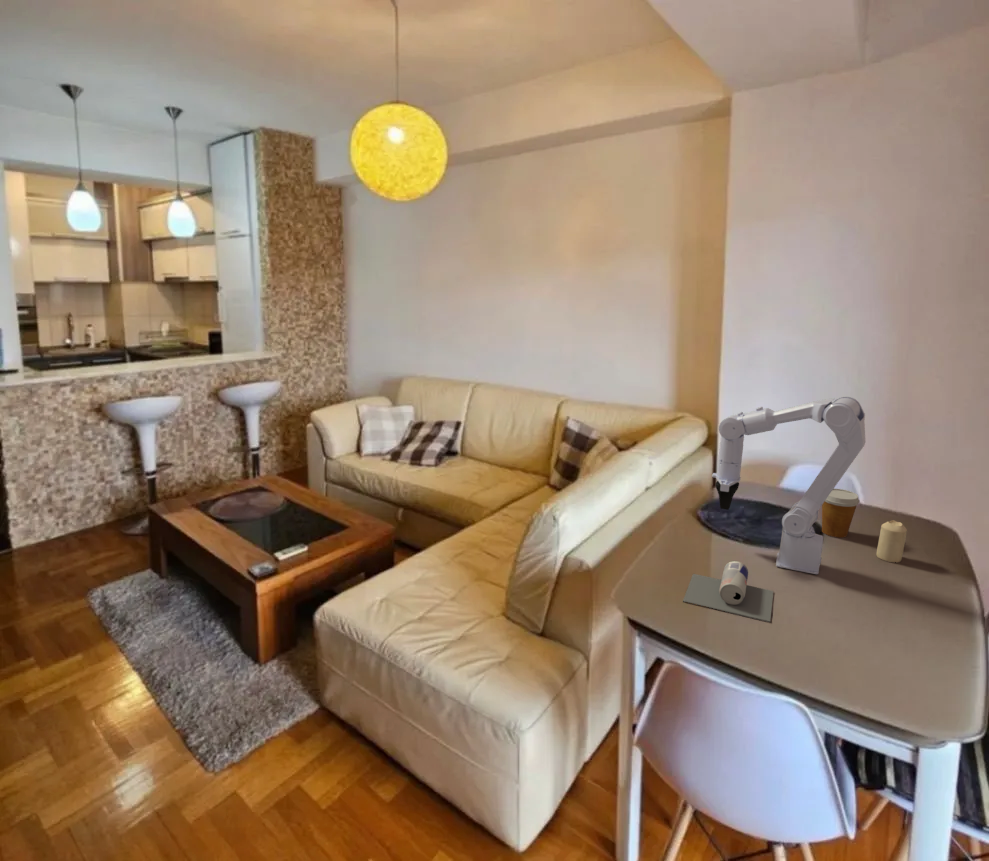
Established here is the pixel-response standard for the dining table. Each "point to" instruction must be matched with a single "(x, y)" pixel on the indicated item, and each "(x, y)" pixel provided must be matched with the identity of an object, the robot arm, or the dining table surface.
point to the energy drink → (734, 582)
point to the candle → (891, 541)
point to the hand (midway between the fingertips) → (724, 508)
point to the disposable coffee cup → (838, 512)
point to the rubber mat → (708, 595)
